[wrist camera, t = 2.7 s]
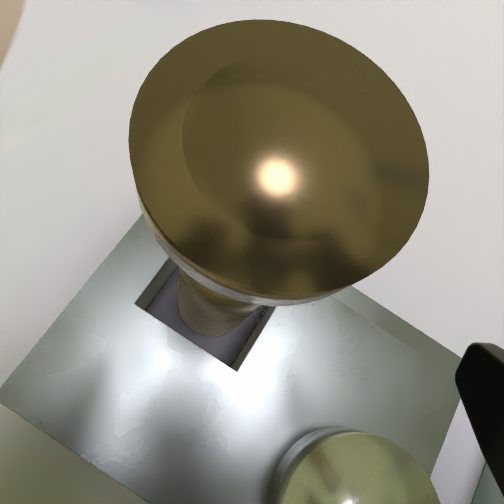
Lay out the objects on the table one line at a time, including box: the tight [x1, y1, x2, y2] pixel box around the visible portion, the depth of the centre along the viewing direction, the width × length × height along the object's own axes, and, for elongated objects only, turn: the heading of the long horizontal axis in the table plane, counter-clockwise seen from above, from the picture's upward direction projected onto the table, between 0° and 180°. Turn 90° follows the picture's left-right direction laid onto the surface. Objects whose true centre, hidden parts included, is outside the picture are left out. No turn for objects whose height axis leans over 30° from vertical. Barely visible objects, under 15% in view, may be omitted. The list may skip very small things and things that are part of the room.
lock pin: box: [129, 20, 429, 336], centre depth 12 cm, size 4×4×13 cm
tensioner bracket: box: [0, 214, 462, 504], centre depth 15 cm, size 10×14×5 cm
